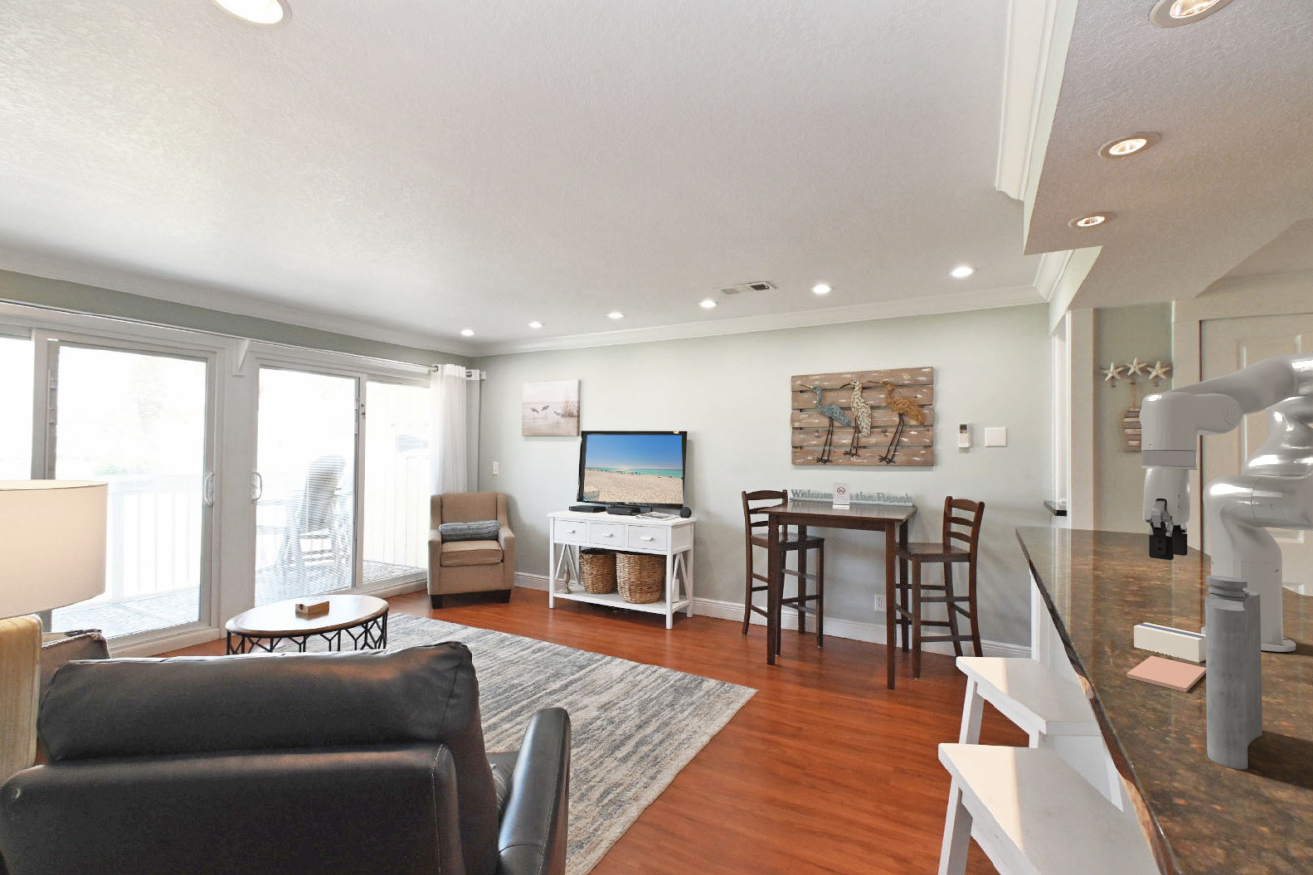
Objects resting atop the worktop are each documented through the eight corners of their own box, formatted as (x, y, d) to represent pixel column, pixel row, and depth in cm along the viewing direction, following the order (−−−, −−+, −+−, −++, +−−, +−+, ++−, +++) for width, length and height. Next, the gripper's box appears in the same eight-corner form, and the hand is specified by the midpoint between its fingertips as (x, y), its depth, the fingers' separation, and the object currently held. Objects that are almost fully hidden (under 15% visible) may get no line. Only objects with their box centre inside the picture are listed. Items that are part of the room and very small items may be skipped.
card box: (1145, 643, 108) (1145, 621, 108) (1209, 658, 101) (1209, 635, 101) (1134, 648, 106) (1133, 625, 106) (1198, 663, 98) (1198, 639, 98)
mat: (1151, 659, 99) (1151, 655, 99) (1206, 671, 94) (1206, 668, 94) (1126, 677, 91) (1126, 673, 91) (1186, 692, 85) (1186, 688, 85)
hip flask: (1245, 772, 63) (1242, 589, 64) (1195, 757, 67) (1193, 582, 67) (1263, 731, 73) (1261, 572, 74) (1219, 719, 76) (1217, 567, 77)
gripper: (1154, 461, 112) (1154, 550, 112) (1128, 459, 102) (1127, 557, 101) (1207, 462, 106) (1207, 556, 106) (1184, 460, 96) (1184, 564, 95)
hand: (1168, 556), depth 104 cm, fingers open, 9 cm apart
